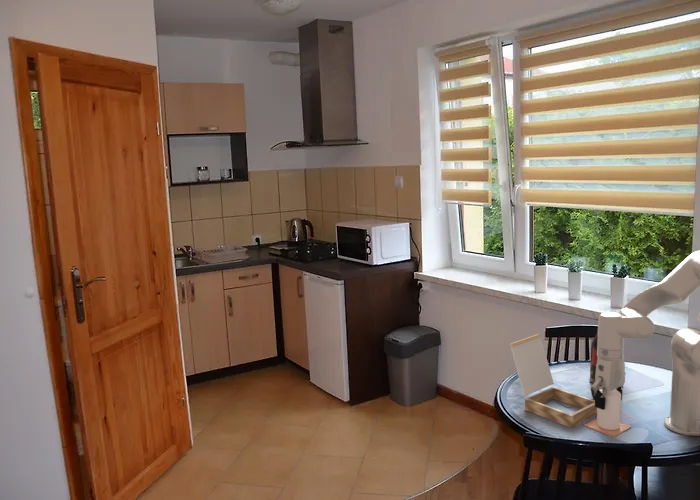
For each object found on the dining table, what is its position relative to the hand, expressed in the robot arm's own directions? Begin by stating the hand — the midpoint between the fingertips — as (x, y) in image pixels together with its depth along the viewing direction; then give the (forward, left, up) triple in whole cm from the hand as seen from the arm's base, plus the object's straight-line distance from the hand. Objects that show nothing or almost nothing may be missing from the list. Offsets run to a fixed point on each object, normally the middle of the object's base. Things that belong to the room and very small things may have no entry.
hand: (608, 403), depth 191 cm
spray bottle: (0, 0, -8) cm, 8 cm away
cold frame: (+16, +1, -8) cm, 18 cm away
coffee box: (+21, -33, -8) cm, 40 cm away
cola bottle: (+12, -18, -8) cm, 23 cm away
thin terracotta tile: (0, 0, -8) cm, 8 cm away
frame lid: (+28, +1, +6) cm, 28 cm away
